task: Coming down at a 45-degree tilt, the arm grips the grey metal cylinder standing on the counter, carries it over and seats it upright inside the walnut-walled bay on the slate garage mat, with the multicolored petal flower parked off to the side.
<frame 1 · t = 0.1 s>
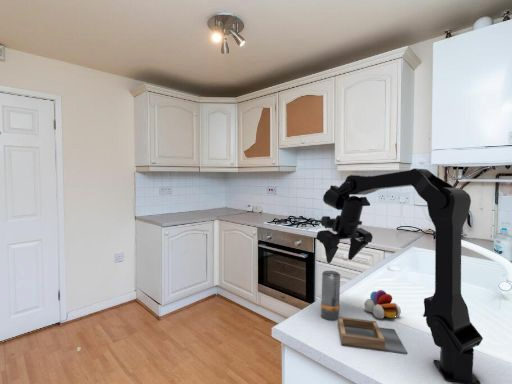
hand: (339, 261, 90), 15 cm above the countertop, tool pointing down, fingers open, 9 cm apart
grey metal cylinder: (329, 316, 85), on the countertop
multicolored petal flower: (381, 314, 87), on the countertop
garage bay: (359, 337, 73), on the countertop
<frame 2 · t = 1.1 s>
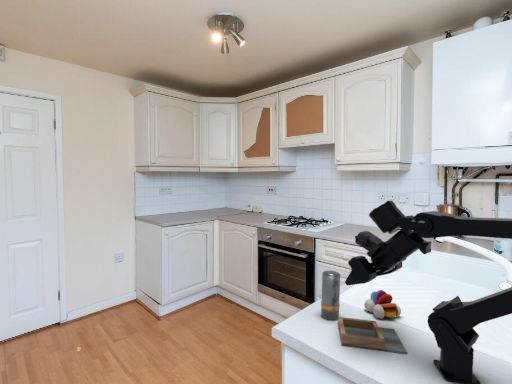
hand: (355, 280, 78), 13 cm above the countertop, tool tilted 45°, fingers open, 9 cm apart
nothing on the countertop moved.
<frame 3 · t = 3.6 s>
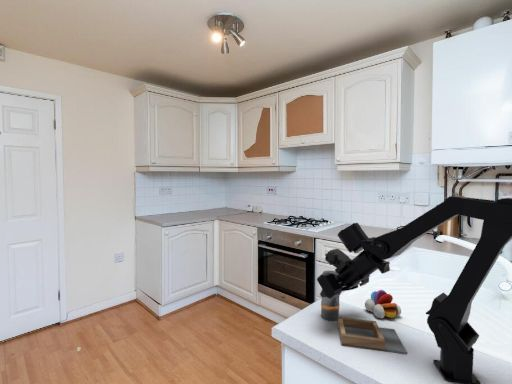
hand: (326, 293, 86), 7 cm above the countertop, tool tilted 45°, fingers closed on grey metal cylinder, 5 cm apart
grey metal cylinder: (329, 316, 85), on the countertop, touching gripper
everything else where it was.
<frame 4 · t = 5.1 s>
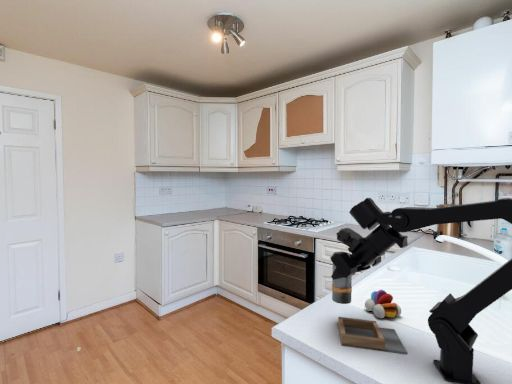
hand: (337, 275, 81), 14 cm above the countertop, tool tilted 45°, fingers closed on grey metal cylinder, 5 cm apart
grey metal cylinder: (341, 300, 80), point 7 cm above the countertop, touching gripper
everything else where it was.
when the fingers open (8 cm above the countertop, at t = 7.0 s): grey metal cylinder drops 1 cm, resting on garage bay.
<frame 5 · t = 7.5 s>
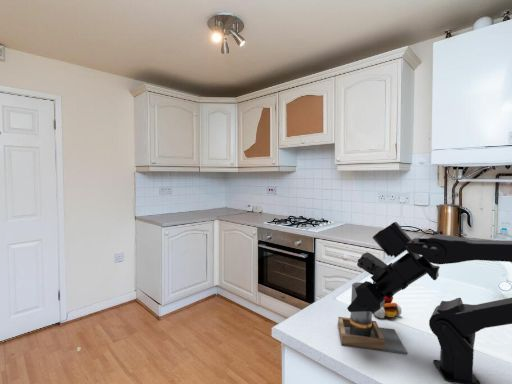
hand: (355, 304, 74), 8 cm above the countertop, tool tilted 45°, fingers open, 9 cm apart
grey metal cylinder: (360, 335, 73), resting on garage bay
everything else where it was.
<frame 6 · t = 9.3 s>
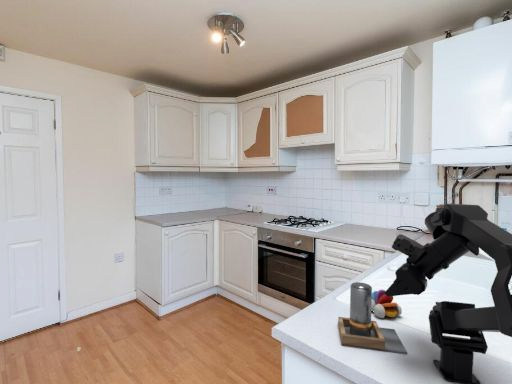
hand: (390, 288, 71), 14 cm above the countertop, tool tilted 45°, fingers open, 9 cm apart
nothing on the countertop moved.
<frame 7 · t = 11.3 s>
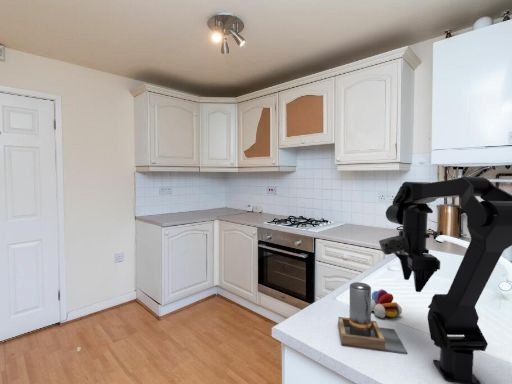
hand: (411, 285, 76), 13 cm above the countertop, tool pointing down, fingers open, 9 cm apart
nothing on the countertop moved.
at the end: grey metal cylinder 0.1 cm off-centre on the garage bay, point 0.5 cm above the garage bay's base; grey metal cylinder tilted 2°; the gripper is holding nothing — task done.
